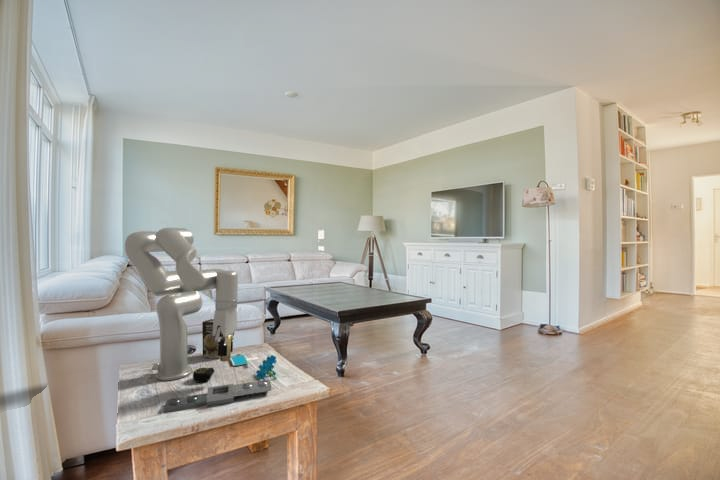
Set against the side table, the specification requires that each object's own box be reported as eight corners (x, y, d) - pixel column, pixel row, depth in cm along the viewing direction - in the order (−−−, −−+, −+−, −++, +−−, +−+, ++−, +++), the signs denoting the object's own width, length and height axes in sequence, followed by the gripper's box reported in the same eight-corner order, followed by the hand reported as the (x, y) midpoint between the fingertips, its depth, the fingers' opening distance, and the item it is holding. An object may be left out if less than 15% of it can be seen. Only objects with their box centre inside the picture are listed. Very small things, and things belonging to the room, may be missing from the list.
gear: (252, 369, 136) (271, 349, 138) (263, 377, 138) (281, 358, 140) (257, 383, 126) (276, 362, 128) (268, 392, 128) (287, 371, 131)
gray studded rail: (163, 414, 105) (163, 402, 105) (168, 402, 113) (167, 391, 113) (271, 396, 116) (271, 385, 116) (269, 386, 124) (269, 376, 124)
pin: (218, 361, 126) (218, 333, 126) (223, 357, 130) (223, 331, 130) (227, 361, 126) (228, 334, 126) (232, 358, 130) (232, 331, 130)
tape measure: (210, 382, 128) (209, 372, 128) (190, 384, 127) (190, 374, 127) (214, 375, 135) (214, 366, 135) (196, 377, 134) (196, 367, 134)
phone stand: (262, 366, 145) (262, 362, 145) (232, 372, 139) (232, 368, 139) (253, 353, 163) (253, 349, 163) (226, 357, 157) (226, 353, 157)
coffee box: (201, 357, 155) (201, 321, 155) (211, 353, 162) (210, 318, 162) (219, 359, 153) (219, 322, 153) (228, 354, 160) (228, 319, 160)
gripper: (227, 299, 136) (226, 346, 137) (204, 308, 120) (203, 361, 120) (245, 300, 136) (244, 347, 136) (225, 309, 119) (224, 362, 119)
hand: (225, 353), depth 128 cm, fingers closed on pin, 3 cm apart
